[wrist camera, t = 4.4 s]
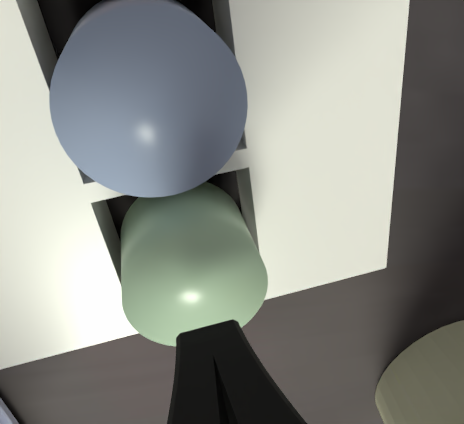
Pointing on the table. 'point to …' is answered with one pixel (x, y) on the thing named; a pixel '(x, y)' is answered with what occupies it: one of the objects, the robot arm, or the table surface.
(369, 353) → the table surface
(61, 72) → the slate button
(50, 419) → the table surface
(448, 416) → the reusable coffee cup
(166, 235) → the sage button
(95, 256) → the panel
